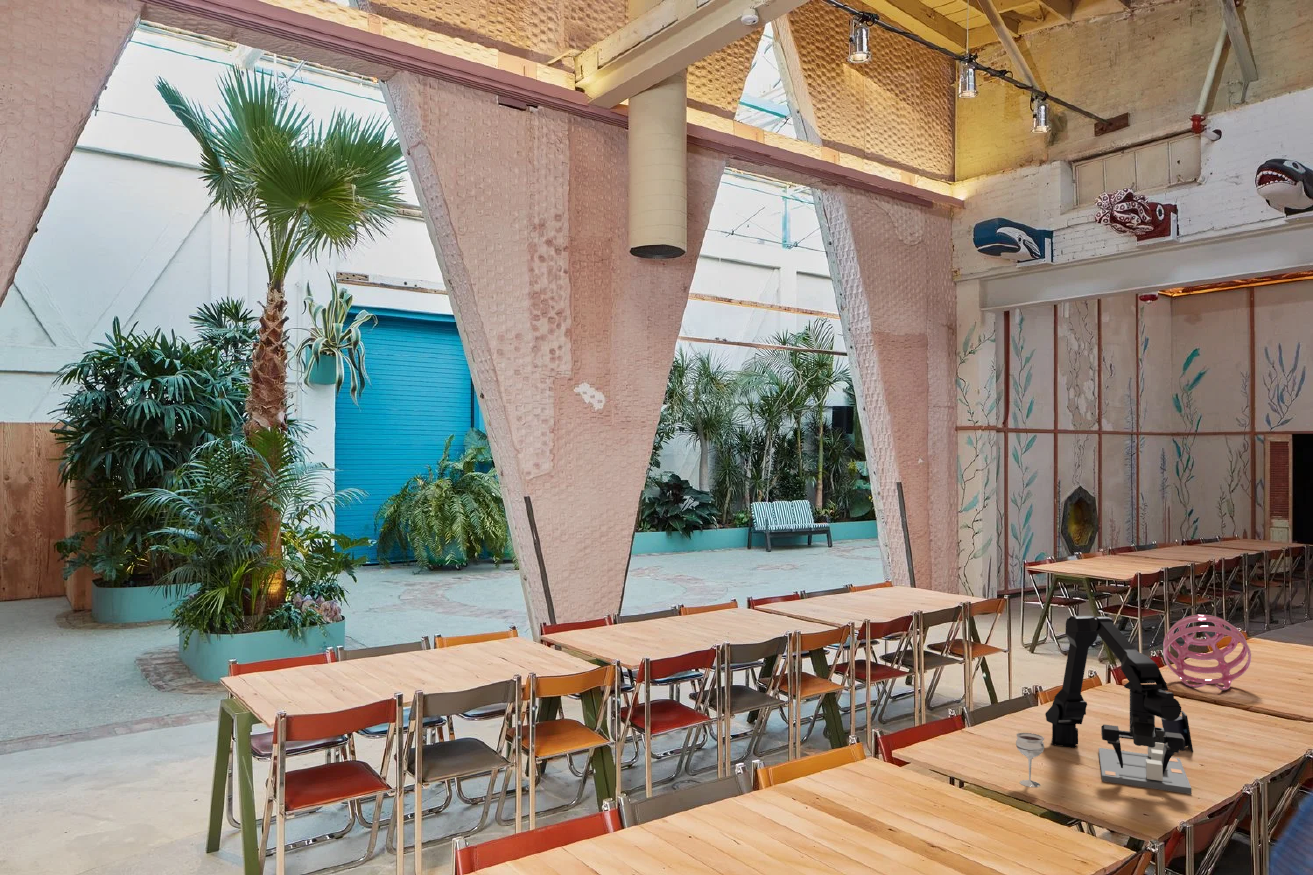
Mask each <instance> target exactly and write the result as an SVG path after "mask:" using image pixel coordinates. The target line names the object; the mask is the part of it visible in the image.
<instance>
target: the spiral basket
mask: <svg viewBox="0 0 1313 875" xmlns="http://www.w3.org/2000/svg"><path fill="white" fill-rule="evenodd" d="M1199 622H1209V623H1212V624H1214V625H1215V626H1213V625H1196V626H1189V627H1187V626H1188V624H1191V623H1199ZM1224 626H1226V627H1228V628H1229V629H1230V630H1229V629H1226V628H1225V627H1224ZM1176 629H1178V631H1177V632H1175V630H1176ZM1174 632H1175V633H1174ZM1200 632H1204V634H1205V637H1206V638H1204V639H1203V638H1201V639H1200V638H1196V637H1195V635H1196V634H1197V633H1200ZM1207 632H1211V633H1215V634H1214V635H1213V636H1210V635H1209V634H1208V633H1207ZM1189 634H1190V635H1189ZM1225 636H1228V637H1231V640H1230V641H1229V643H1228V644H1227V645H1226V646H1225V647H1223V648H1222V649H1220V648H1218V646H1217V643H1220V641H1221V640H1223V638H1224V637H1225ZM1179 638H1182V640H1183V641H1184V644H1183V645H1180V644H1179V643H1178V642H1177V639H1179ZM1239 643H1240V644H1242V649H1241V651H1240V653H1239V655H1237V656H1236V657H1235V658H1234V659H1232V660H1231V661H1229V662H1226V660H1225V657H1226V656H1227V655H1230V654H1231V653H1232V652H1234V650H1235V649H1236V647H1237V646H1238V644H1239ZM1162 645H1163V650H1162V653H1163V659H1164V662H1165V663H1166V664H1165V665H1167V667H1168V669H1170V670H1171V671H1172V672H1173V674H1175V675H1176V676H1177V677H1178V678H1179V680H1180V681H1181V682H1182V683H1183V684H1184V685H1185V686H1187V687H1190V688H1193V689H1198V688H1202V687H1205V686H1206V685H1215V686H1216V688H1218V690H1220V691H1222V692H1224V691H1227V690H1229V689H1230V687H1231V685H1232V682H1233V681H1234V680H1235V679H1237V678H1239V677H1241V676H1242V675H1243V674H1244V673H1245V672H1247V670H1248V669H1249V668H1250V665H1251V662H1252V652H1251V649H1250V647H1249V644H1248V642H1247V640H1246V637H1245V636H1244V634H1243V633H1242V632H1241V631H1240V630H1239V629H1238V628H1237V627H1236V626H1235V625H1233V624H1231V623H1230V622H1228V621H1227V620H1225V619H1223V618H1222V617H1219V616H1215V615H1210V614H1194V615H1193V614H1192V615H1189V616H1185V617H1182V618H1181V619H1179V620H1178V621H1176V622H1175V623H1174V624H1173V625H1172V626H1171V628H1169V630H1168V631H1167V632H1166V634H1165V636H1164V638H1163V644H1162ZM1170 645H1171V647H1172V649H1174V650H1175V652H1177V654H1178V656H1177V657H1176V656H1174V655H1173V654H1172V653H1171V652H1170V650H1169V647H1170ZM1190 645H1193V646H1200V647H1206V646H1207V647H1208V646H1210V647H1211V648H1212V651H1211V652H1206V653H1205V652H1204V653H1203V652H1195V651H1192V650H1189V646H1190ZM1246 657H1247V661H1246V663H1245V664H1244V665H1243V666H1242V668H1241V669H1239V670H1238V671H1237V672H1234V673H1231V672H1230V671H1231V670H1232V669H1234V668H1235V667H1237V666H1239V665H1240V664H1241V663H1242V662H1243V661H1244V660H1245V658H1246ZM1185 658H1190V659H1193V660H1199V661H1213V660H1215V661H1217V663H1218V664H1217V665H1216V666H1197V665H1196V666H1195V665H1191V664H1188V663H1186V662H1185ZM1168 659H1169V660H1168ZM1169 661H1171V662H1172V663H1173V664H1174V665H1175V667H1176V668H1175V667H1173V666H1172V664H1171V663H1170V662H1169ZM1184 670H1185V671H1189V672H1192V673H1196V674H1197V673H1199V674H1217V673H1219V674H1221V677H1218V678H1200V677H1194V676H1189V675H1188V674H1186V673H1185V672H1184ZM1189 682H1192V683H1196V684H1191V683H1189ZM1219 684H1220V685H1221V684H1223V686H1220V685H1219Z"/></svg>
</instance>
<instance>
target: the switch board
mask: <svg viewBox="0 0 1313 875" xmlns="http://www.w3.org/2000/svg"><path fill="white" fill-rule="evenodd" d="M1121 752H1122V759H1123V768H1121V766H1120V763H1119V759H1118V756H1117V753H1116V751H1115V749H1114V748H1112V749H1111V748H1106V747H1105V748H1104V747H1098V758H1099V766H1100V774H1101V782H1104V783H1105V782H1106V783H1110V784H1111V783H1112V784H1118V785H1119V784H1120V785H1126V786H1133V787H1140V788H1145V789H1155V790H1161V791H1167V792H1176V793H1181V794H1186V795H1187V794H1188V795H1192V790H1193V789H1192V786H1191V784H1190V781H1189V778H1188V776H1187V774H1186V773H1187V772H1186V770H1185V769H1184V766H1183V764H1182V763H1183V762H1182V760H1181V759H1180V758H1179V757H1173V756H1171V758H1170V760H1169V762H1168V765H1167V770H1165V772H1164V774H1163V781H1159V780H1152V779H1147V777H1146V759H1150V760H1151V757H1149V756H1148V753H1143V752H1134V751H1128V750H1121Z"/></svg>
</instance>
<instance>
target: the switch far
mask: <svg viewBox="0 0 1313 875" xmlns="http://www.w3.org/2000/svg"><path fill="white" fill-rule="evenodd" d="M1163 746H1164V743H1157V742H1155V747H1148V746H1147V754H1148V756H1149V757H1151V749H1155V750H1163Z"/></svg>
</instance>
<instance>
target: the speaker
mask: <svg viewBox="0 0 1313 875" xmlns="http://www.w3.org/2000/svg"><path fill="white" fill-rule="evenodd" d="M1160 720H1161V725H1162V728H1164V736H1165V732H1170V733H1179V734H1181V735H1182V736H1183V738H1184V740H1185V748H1188V749H1189V751H1191V753H1193V752H1194V749H1193V743H1192V737H1191V730H1190V724H1189V720H1188V715H1187V714H1186V713H1185V712H1184V711H1183V710H1181V715H1180V716H1179V717H1178V718H1177V719H1176V720H1174V721H1167V720H1165V719H1162V718H1160Z"/></svg>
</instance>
